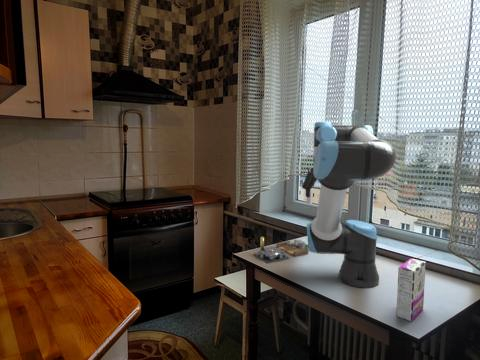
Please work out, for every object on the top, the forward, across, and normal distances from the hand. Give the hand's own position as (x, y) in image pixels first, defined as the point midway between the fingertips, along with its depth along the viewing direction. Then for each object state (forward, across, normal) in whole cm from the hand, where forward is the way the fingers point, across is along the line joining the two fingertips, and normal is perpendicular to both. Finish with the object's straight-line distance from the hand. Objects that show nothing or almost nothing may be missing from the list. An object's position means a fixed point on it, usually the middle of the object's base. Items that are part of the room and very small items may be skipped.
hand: (320, 202), depth 150 cm
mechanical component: (+24, -5, +18) cm, 31 cm away
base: (+27, -18, +13) cm, 35 cm away
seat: (+27, -4, +15) cm, 31 cm away
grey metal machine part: (+26, -18, +13) cm, 34 cm away
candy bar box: (+27, -8, -51) cm, 58 cm away
